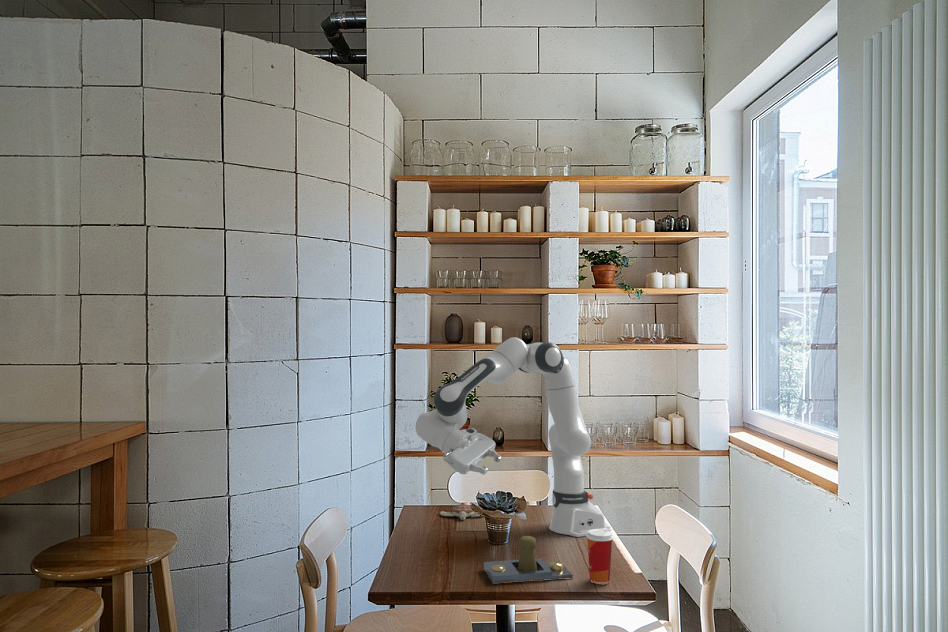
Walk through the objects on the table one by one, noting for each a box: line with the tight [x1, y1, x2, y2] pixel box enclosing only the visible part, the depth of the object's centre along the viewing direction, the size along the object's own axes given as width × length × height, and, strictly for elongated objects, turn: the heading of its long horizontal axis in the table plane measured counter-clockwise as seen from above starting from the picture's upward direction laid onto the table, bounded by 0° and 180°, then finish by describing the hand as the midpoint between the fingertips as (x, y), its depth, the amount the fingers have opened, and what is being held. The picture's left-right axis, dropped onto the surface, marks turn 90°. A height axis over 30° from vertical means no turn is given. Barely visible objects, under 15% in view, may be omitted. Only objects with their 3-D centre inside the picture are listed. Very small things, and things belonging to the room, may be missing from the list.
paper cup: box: [585, 529, 614, 582], centre depth 181 cm, size 8×8×14 cm
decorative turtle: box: [439, 503, 481, 521], centre depth 248 cm, size 18×17×5 cm
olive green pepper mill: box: [517, 535, 538, 572], centre depth 186 cm, size 6×6×11 cm
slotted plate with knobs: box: [483, 558, 574, 583], centre depth 185 cm, size 24×12×3 cm, turn 102°
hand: (493, 465), depth 197 cm, fingers open, 8 cm apart
